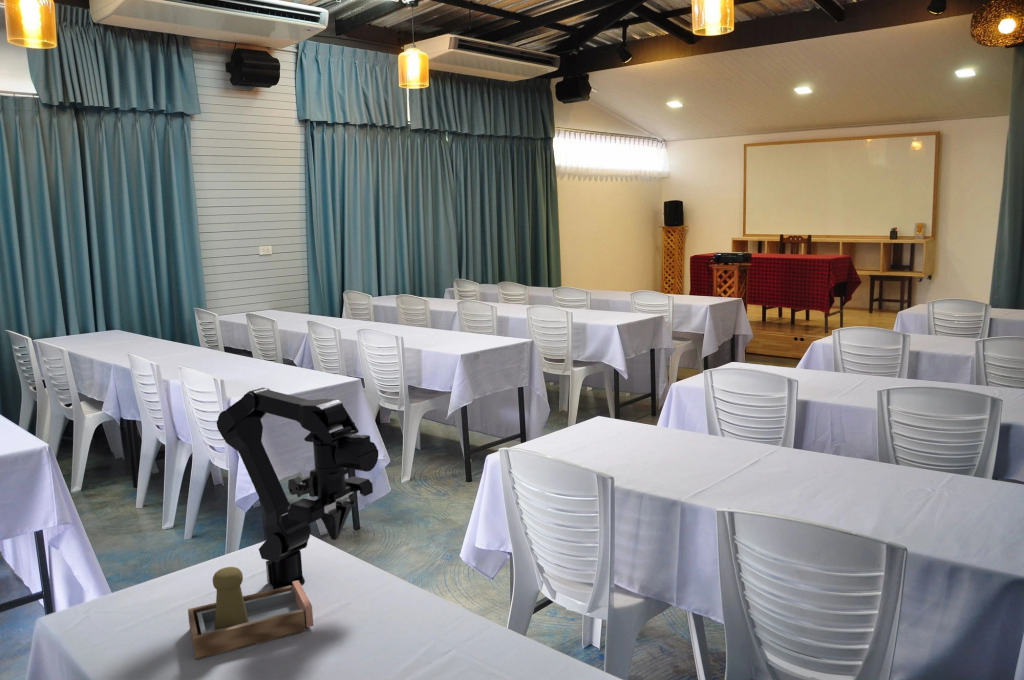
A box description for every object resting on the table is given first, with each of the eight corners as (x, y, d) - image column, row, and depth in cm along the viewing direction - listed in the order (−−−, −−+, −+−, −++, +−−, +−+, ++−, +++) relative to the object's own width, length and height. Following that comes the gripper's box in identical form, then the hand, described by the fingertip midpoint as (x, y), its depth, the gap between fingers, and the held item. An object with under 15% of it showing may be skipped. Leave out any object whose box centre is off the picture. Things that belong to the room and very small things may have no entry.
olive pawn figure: (207, 631, 143) (201, 574, 141) (230, 615, 149) (225, 560, 147) (233, 637, 141) (228, 579, 139) (256, 620, 146) (251, 565, 145)
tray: (299, 599, 156) (298, 580, 155) (313, 625, 146) (311, 605, 145) (197, 623, 148) (195, 603, 147) (204, 653, 137) (201, 632, 136)
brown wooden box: (292, 604, 155) (291, 585, 155) (305, 631, 145) (303, 611, 144) (189, 629, 147) (187, 609, 146) (195, 659, 137) (193, 638, 136)
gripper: (331, 446, 166) (336, 516, 169) (264, 472, 150) (270, 549, 153) (372, 453, 161) (376, 525, 163) (307, 480, 145) (313, 560, 147)
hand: (334, 539), depth 157 cm, fingers closed
